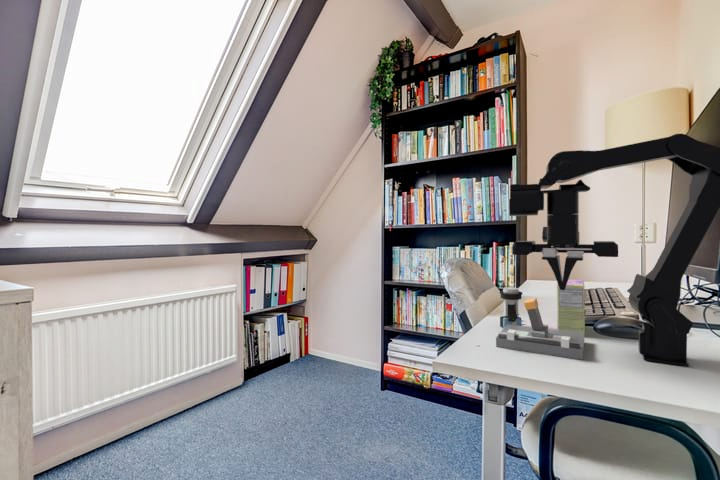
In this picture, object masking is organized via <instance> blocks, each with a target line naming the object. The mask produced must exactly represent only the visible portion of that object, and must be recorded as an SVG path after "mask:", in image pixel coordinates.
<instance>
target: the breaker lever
mask: <svg viewBox="0 0 720 480" xmlns="http://www.w3.org/2000/svg"><path fill="white" fill-rule="evenodd" d="M523 302H524V303H523V304H524V308H525V311H527V314H528V318H529V323H530V327H532V329H533V331H541V332H544V331H545V329H544V326H543V324H544V323H543V320H542V316H541V313H540V309H539V302H538V299H537V297H535V298H528V299H526V300H525V301H523Z"/></svg>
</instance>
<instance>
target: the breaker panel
mask: <svg viewBox="0 0 720 480" xmlns="http://www.w3.org/2000/svg"><path fill="white" fill-rule="evenodd" d="M543 326H544V329H545V331H544V332H541V331H533V329H532V326H526V325H521V326H517V325H509V324H507V325H506V326H505V327H504V328H502V329H501V331H499V333H498V334H497V336H496V337H495V347H496V348H504V349H510V350H515V351H522V352H523V351H524V352H528V353H529V352H530V353H535V354H542V355H549V356H555V357H561V358H569V359H575V360H581V361H583V360H584V353H585V351H584V350H585V336H584V333H576V332H568V331H560V330H557V329H551V328H550V329H549V324H544V323H543Z"/></svg>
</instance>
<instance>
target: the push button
mask: <svg viewBox="0 0 720 480" xmlns="http://www.w3.org/2000/svg"><path fill="white" fill-rule="evenodd" d="M519 290H520V289H519V288H518V287H512V286H507V287H503V290H500V291H499V294H500V298H501V299H502V300H503V314H502V315H501V316H499V326H500V327H501V328H502V329H504V327H505V326H506V325H507V324H509V325H517V326H526V325H527V324H526V323H522V322H526V320H525V319H522V317H520V313H519V300H522V296H523V292H522V291H519Z"/></svg>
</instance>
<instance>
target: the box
mask: <svg viewBox="0 0 720 480" xmlns="http://www.w3.org/2000/svg"><path fill="white" fill-rule="evenodd" d="M556 301H557V302H556V305H557V306H556V307H557V311H556V312H557V313H556V314H557V315H556V316H557V320H556V321H557V326H556V327H557V329H556V330H560V331H568V332H576V333H584V337H585V336H586V333H585V332H586V330H585V323H586V322H585V321H586V319H585V315H586V314H585V313H586V312H585V306H586V305H585V282H584V280H583V279H568V282H567V285H566V288H565V290H560V288H559V285H558V283H556Z"/></svg>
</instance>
